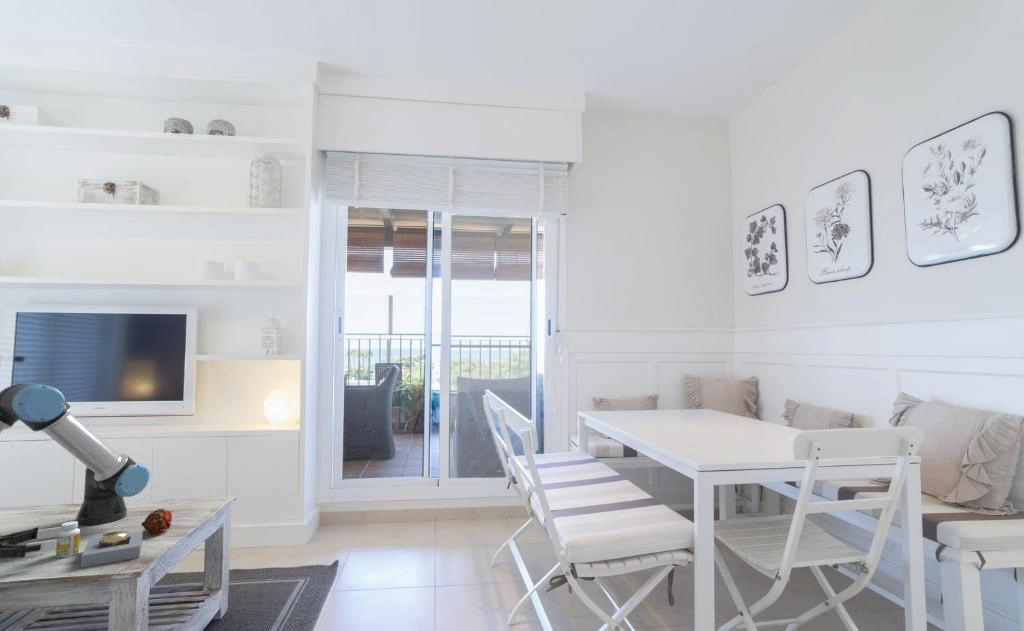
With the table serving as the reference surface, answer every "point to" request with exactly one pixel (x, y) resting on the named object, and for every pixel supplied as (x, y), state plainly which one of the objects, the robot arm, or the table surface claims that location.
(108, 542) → the plunger disc
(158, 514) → the dragon fruit
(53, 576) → the table surface
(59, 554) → the supplement bottle
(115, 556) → the socket plate
